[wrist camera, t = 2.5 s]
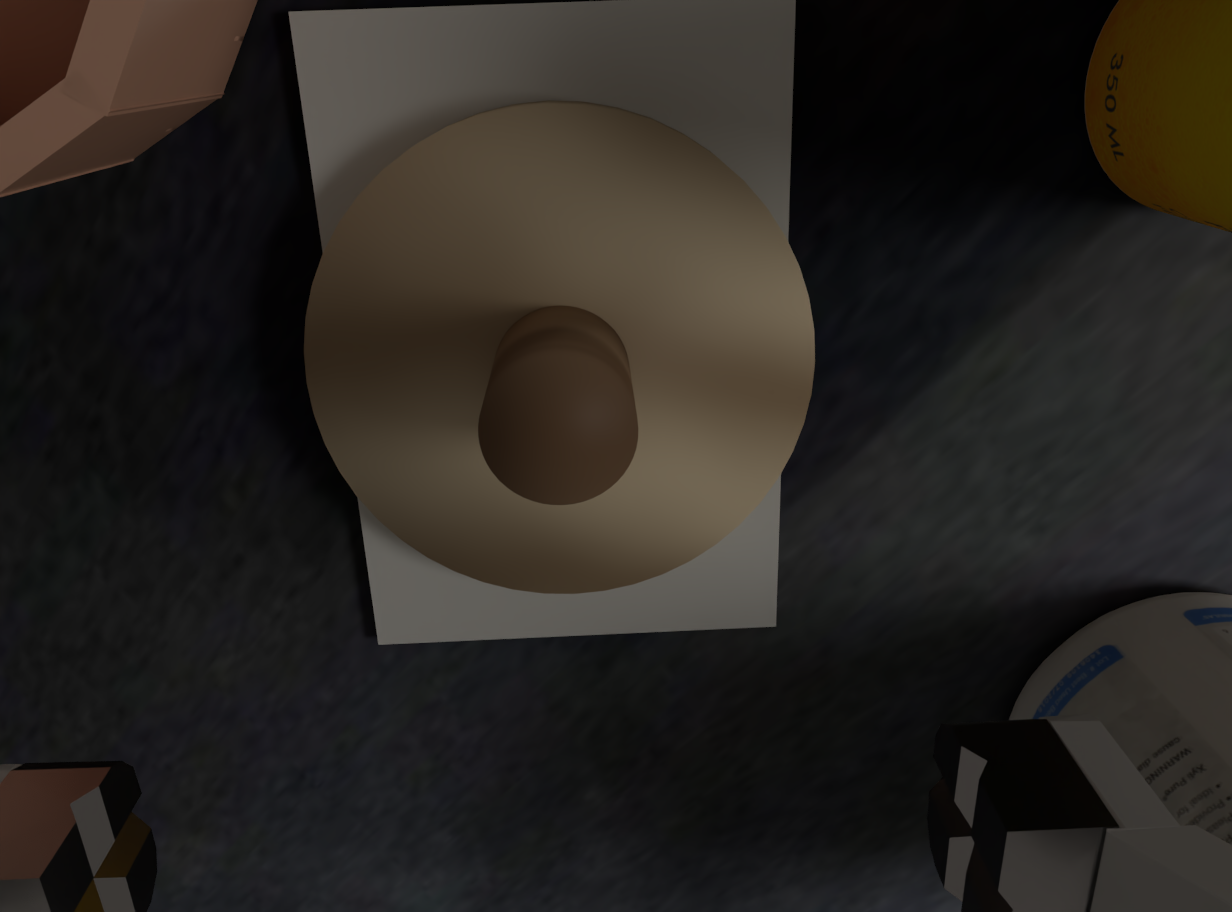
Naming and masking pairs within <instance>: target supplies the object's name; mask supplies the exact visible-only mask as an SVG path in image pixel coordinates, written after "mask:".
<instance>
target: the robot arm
mask: <svg viewBox="0 0 1232 912" xmlns="http://www.w3.org/2000/svg"><path fill="white" fill-rule="evenodd" d="M933 757H934V759H935V761H936V763H937V766H938V768H939V770H940V772H941V774H942V776H943V777H942V779H941V780H940V781H939V782H938V783H937V784H936V785H935V786H934V787H933V788H932V789H931V790H930V792H929V803H928V816H927V820H928V830H929V840H930V848H931V851H932V855H933V859H934V863H935V866H936V869H937V872H938V874H939V877H940V879H941V882H942V884H943V887H944V888H945V889H946V890H947V891H949V892H950V893H951V894H953V895H954V896H955V897H957V898H958V899H960V900H961V901H962V909H961V912H1232V845H1231V844H1229V843H1227V842H1225V841H1223V840H1222V839H1220V838H1218V837H1216V836H1214V835H1212V834H1211V833H1209V832H1207V831H1205V830H1203V829H1201V828H1200V827H1198V826H1196V825H1187V826H1180V825H1179V824H1178V823H1177V821H1176V820H1175V819H1174V817H1173V816H1172V815H1171V813H1170V812H1169V811H1168V810H1167V808H1166V807H1165V806H1164V804H1163V803H1162V802H1161V800H1160V799H1159V798H1158V796H1157V795H1156V794H1155V792H1154V791H1153V790H1152V789H1151V787H1150V786H1149V785H1148V783H1147V782H1146V781H1145V779H1144V778H1143V777H1142V775H1141V774H1140V773H1139V771H1138V770H1137V769H1136V768H1135V766H1134V765H1133V764H1132V762H1131V761H1130V760H1129V758H1128V757H1127V756H1126V754H1125V753H1124V752H1123V750H1122V749H1121V748H1120V747H1119V745H1118V744H1117V743H1116V741H1115V740H1114V739H1113V737H1112V736H1111V735H1110V733H1109V732H1108V731H1107V730H1106V728H1105V727H1104V726H1103V724H1102V723H1101V722H1100V720H1099V719H1097V718H1095V717H1094V716H1092V715H1090V714H1076V715H1062V716H1048V717H1039V718H1038V719H1023V720H1004V721H984V722H965V723H945V724H941V725H940V727H939V729H938V732H937V734H936V738H935V746H934V754H933ZM141 794H142V792H141V789H140V786H139V783H138V780H137V776H136V773H135V770H134V767H133V766H131V765H129V764H127V763H125V762H123V761H97V762H54V763H25V764H23V765H21V764H0V912H147V910H148V908H149V906H150V903H151V900H152V895H153V890H154V885H155V880H156V875H157V853H156V845H155V841H154V837H153V833H152V829H151V828H150V827H149V826H148V825H147V824H145V823H144V822H143V821H142V820H141V819H140V818H138V817H137V816H136V815H135V814H134V813H132V810H133V808H134V806H135V805H136V803H137V801H138V799H139V797H140V796H141Z"/></svg>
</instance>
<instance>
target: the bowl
mask: <svg viewBox="0 0 1232 912" xmlns="http://www.w3.org/2000/svg"><path fill="white" fill-rule="evenodd" d="M257 1H258V0H0V197H3V196H7V195H11V194H14V193H18V192H21V191H25V190H29V189H32V188H36V187H40V186H43V185H47V184H51V183H54V182H58V181H62V180H65V179H69V178H73V177H76V176H80V175H84V174H87V173H91V172H95V171H98V170H102V169H106V168H109V167H113V166H117V165H120V164H124V163H127V162H131V161H134V158H136V157H137V156H138V155H140V154H141V153H143V152H144V151H145V150H147V149H148V148H150V147H151V146H152V145H154V144H155V143H157V142H158V141H159V140H161V139H162V138H163V137H165V136H166V135H168V134H169V133H170V132H172V131H173V130H175V129H176V128H178V127H179V126H180V125H182V124H183V123H184V122H186V121H187V120H189V119H190V118H191V117H193V116H194V115H196V114H197V113H198V112H200V111H201V110H202V109H204V108H205V107H207V106H208V105H209V104H211V103H212V102H214V101H215V100H216V99H218V98H222V95H223V94H224V89H225V87H226V84H227V81H228V79H229V76H230V73H231V71H232V68H233V65H234V63H235V60H236V57H237V54H238V52H239V49H240V46H241V44H242V41H243V39H244V36H245V33H246V30H247V28H248V25H249V22H250V19H251V17H252V14H253V11H254V9H255V6H256V3H257Z"/></svg>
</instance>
